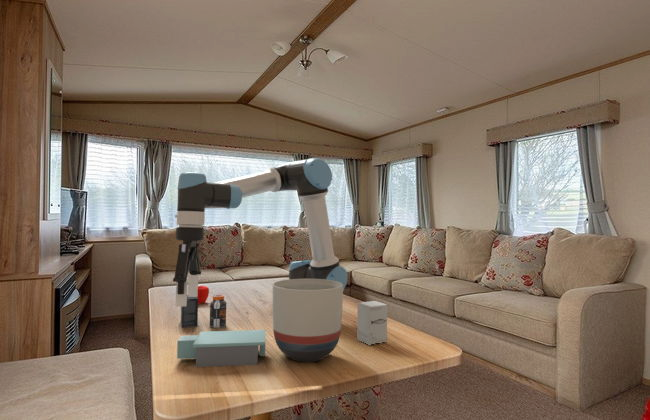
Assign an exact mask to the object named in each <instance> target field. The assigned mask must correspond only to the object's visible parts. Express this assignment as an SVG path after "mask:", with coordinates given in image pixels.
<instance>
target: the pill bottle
mask: <svg viewBox="0 0 650 420" xmlns="http://www.w3.org/2000/svg"><path fill="white" fill-rule="evenodd" d="M226 325H227V302H226V301H225V295H223V294H215V295H214V294H213V296H212V301H210V303H209V327H210V328H215V329H217V328H223V327H226Z"/></svg>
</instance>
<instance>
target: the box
mask: <svg viewBox="0 0 650 420" xmlns="http://www.w3.org/2000/svg"><path fill="white" fill-rule="evenodd" d="M198 313H199V304H198V298H197V297H188V294H187V306H180V325H181V328H183V329H184V328H191V327H192V328H193V327H194V328H195V327H198V323H199V322H198V321H199V320H198V318H199V315H198Z"/></svg>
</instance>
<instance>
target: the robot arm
mask: <svg viewBox="0 0 650 420" xmlns="http://www.w3.org/2000/svg"><path fill="white" fill-rule="evenodd" d="M332 172H333V171H332V170H331V167H330V165H329V164H328V163H327V162H326V161H325V160H324V159H322V158H319V157H314V158H306V159H300V160H293V161H292V160H291V161H287V162H285V163H283V164H280V165H276V166H273V167H269V168H267V169H266V170H265V171H261V172H258V173H252V174H247V175H244V176H239V177H234V178H230V179H225V180H221V181H215V182H211V181H208V180H207V175H206V174H205V173H201V172H195V171H194V172H192V171H189V172H187V171H186V172H182V173H180V174H179V176H178V180H177V181H178V182H177V188H176V189H177V209H176V211H177V212H176V214H175V215H174V218H175V219H176V225H177V227H176V228H175V240H176V241H182V243H180V244H179V245H178V253H177V260H176V266H175V272H174V277H173V278H172V281H173V283H175V282H176V283H175V284H176V287H175V307H181V306H187V295H188V297H197V294H198V286H199V275H202V270H201V265H200V250H199V247H200V243H199V242H200V241H203V240H204V239H205V238H204V235H205V233H204V232H205V228H204V227H203V226H205V220H206V219H205V216H206V215H205V214H206V212H205V211H206V209H228V210H230V209H237V208H239V207H240V205H241V203H242V202H243V201H242V200H243V199H244V198H249V197H250V196H254V195H255V196H256V195H259V194H263V193H267V192H272V193H277V192H281V191H282V192H285V191H297V195H298V197H299V198H300V200H302V202H303V208H304V213H305V214H304V215H305V221H306V224H307V225H306V226H307V232H308V237H309V238H308V239H309V245H310V251H311V255H312V259H308V260H307V259H306V260H297V261H295V260H294V261H291V262H290V263H289V270H288V280H289V279H325V280H332V281H337V282H340V283H342V284H343V291H344V290H345V288H346V285H347V282H348V272H347V269H346V268H345V267H343V266H342V265H340V261H339V260H340V259H339V258H338V257H337V256H335V252H334V246H333V239H332V234H331V233H332V232H331V225H330V222H329V221H330V220H329V214H328V208H327V201H326V196H327V194H328V193H329V190H328V189H329V187H330V186H331V184H332V181H333V173H332ZM197 241H199V242H197Z"/></svg>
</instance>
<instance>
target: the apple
mask: <svg viewBox="0 0 650 420" xmlns="http://www.w3.org/2000/svg"><path fill="white" fill-rule="evenodd" d="M209 294H210V289H209V287H208V286H206V285H205V286H204V285H200V286H199V285H198V294H197V298H198V305H202V304H204V303H206V302H207V300H208V298H209Z"/></svg>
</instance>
